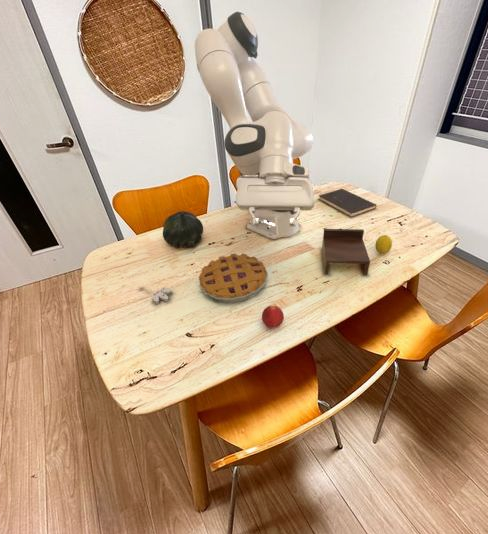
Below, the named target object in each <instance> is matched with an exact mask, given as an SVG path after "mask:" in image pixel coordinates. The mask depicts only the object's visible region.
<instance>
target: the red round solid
mask: <svg viewBox="0 0 488 534" xmlns="http://www.w3.org/2000/svg"><path fill="white" fill-rule="evenodd" d="M284 319H285V316H284V312H283V309H281V307H280V306H277V305H275V304H270V305H267V306H266V307H264V309H263V311H262V313H261V321H262V323H263V325H264V326H265V327H267V328H270V329H274V328H275V329H276V328H279V326H281V325H282V324H283V322H284Z"/></svg>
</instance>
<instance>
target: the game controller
mask: <svg viewBox="0 0 488 534" xmlns="http://www.w3.org/2000/svg"><path fill="white" fill-rule="evenodd" d="M140 289H141V290H143V289H144V290H145V291H147V292H148V290H147V289H146V288H144V287H141V288H140ZM151 292H152V295H151V301H152V302H153V303H155V304H156V305H158V304H160V300H161V301H164V302H169V301H170V299H169V296H168V295H170V294H171V289H169V288H168V287H161V288H159V289H158V290H156V291H153V290H151Z"/></svg>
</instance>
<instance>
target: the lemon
mask: <svg viewBox="0 0 488 534" xmlns="http://www.w3.org/2000/svg"><path fill="white" fill-rule="evenodd" d="M374 244H375V245H374V247H375V250H376V252H377V253H378V254H380V255H385V254H387V253H389V252H390V251H391V249H392V247H393V240H392V238H391V237H390V236H389V235H387V234H383V235H380V236H379V237H378V238H377V239H376V241H375V243H374Z"/></svg>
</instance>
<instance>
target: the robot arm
mask: <svg viewBox="0 0 488 534" xmlns="http://www.w3.org/2000/svg"><path fill="white" fill-rule="evenodd" d="M258 47H259V39H258V34H257V31H256V27H255V26H254V23H253V22H252V21H251V20H250V19H249V17H247V16H246V15H245V14H244V12H240V11H235V12H233V13H231V14H230V15H228V17H227V19H226V21H224V22H223V23H222V24H221V25H220V26H219V27H218V28H217V29H214V28H205V29H202V30H201V31H200V32H199V33H198V34H197V36H196V38H195V42H194V53H195V61H196V68H197V71H198V73H199V76H200V79H201V82H202V84H203V86H204V88H205V90H206V92H207V93H208V96H209V97H210V98H211V100H212V101H213V103H214V104H215V106H216V107H217V109H218V110H219V112H220V114H221V116H223V118H224V120H225V121H226V123H227V125H228V127H229V130H228V132H227V133H226V135H225V138H224V148H225V151H226V153H227V155H228V156H229V158H230V159H231V161H232V162H233V164H234V166H235V167H236V169H237V171H238V174H239V175H240V176H239V177H237V179H236V182H235V186H236V189H237V190H236V195H235V200H234V201H233V202H234V204H235V205H236V207H237V208H238V209H239V210H244V211H247V210H248V212H249V214H250V216H251V219H250V220H249V221H248V222H247V225H246V228H247V230H250V231H251V232H253V233H256V234H259V235H261V236H264V237H266V238H268V239H271V240H276V239H279V238H288V237H292V236H294V235H296V234H298V233H299V232H300V225H299V220H298V219H299V217H300V215H301V211H312V210H313V208H314V207H315V190H314V184H313V182H312V180H311V179H310V178H311V171H310V168H308V167H306V166H303V165H300V164H297V163H294V160H295V159H298V158H300V157H303V156H304V155H306V154H308V153H309V152H310V151H311V149H312V148H313V143H314V142H313V141H314V138H313V135H312V132H311V130H310V128H309V127H307V126H306V125H303V124H302V123H300V122H298V121H297V120H296V119H295V118H293V117H292V115H290V114H289V113H288V112H287V110H286V109H285V108H284V106H283V105H282V104H281V102H280V100H279V98H278V96H277V94H276V93H275V90H274V88H273V86H272V85H271V82H270V81H269V79H268V77H267V75H266V73H265V72H264V71H263V69H262V68H261V66H260V65H259V63H258V62H257V61H255V60H254V59H257V58H258V56H259V55H258V54H259V53H258ZM248 115H249V116H248ZM249 117H250V119H251V122H250V120H249Z"/></svg>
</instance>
